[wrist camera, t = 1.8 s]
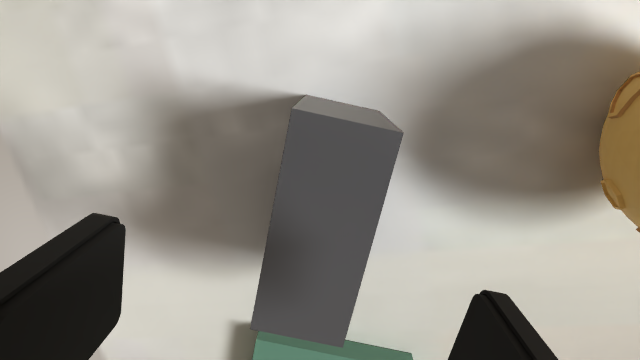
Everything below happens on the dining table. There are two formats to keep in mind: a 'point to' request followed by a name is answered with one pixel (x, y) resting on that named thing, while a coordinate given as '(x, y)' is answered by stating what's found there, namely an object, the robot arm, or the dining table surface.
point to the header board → (319, 350)
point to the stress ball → (623, 150)
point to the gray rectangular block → (324, 219)
